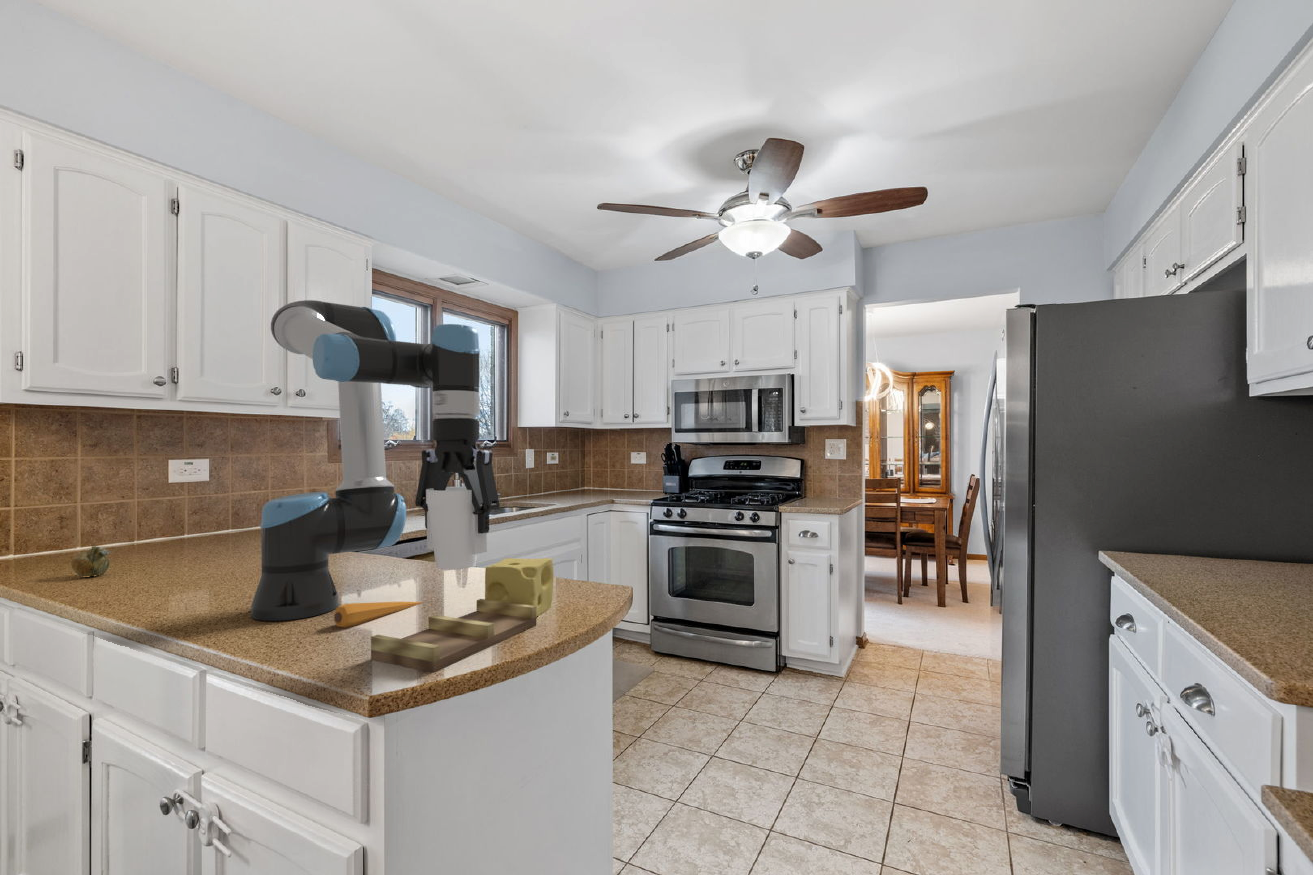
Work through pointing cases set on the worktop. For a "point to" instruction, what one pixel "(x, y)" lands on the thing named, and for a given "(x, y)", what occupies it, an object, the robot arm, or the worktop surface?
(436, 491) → the foam cup
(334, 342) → the robot arm
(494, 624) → the rack
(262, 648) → the worktop surface
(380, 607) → the carrot
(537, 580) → the cheese
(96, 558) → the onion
